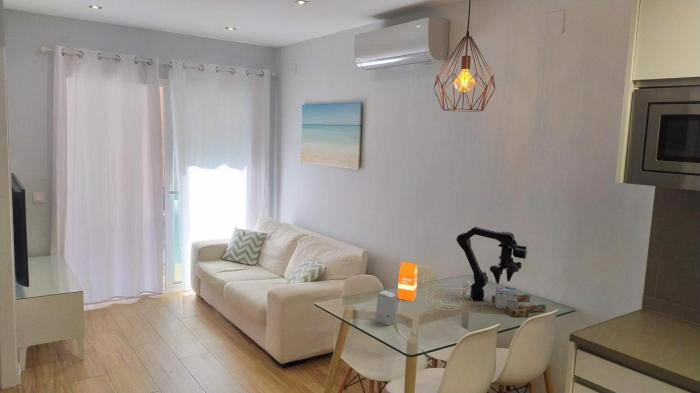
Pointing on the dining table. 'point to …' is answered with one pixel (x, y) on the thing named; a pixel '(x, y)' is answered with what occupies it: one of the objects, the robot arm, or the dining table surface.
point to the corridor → (522, 306)
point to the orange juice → (407, 281)
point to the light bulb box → (506, 297)
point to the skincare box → (386, 307)
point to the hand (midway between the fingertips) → (503, 282)
